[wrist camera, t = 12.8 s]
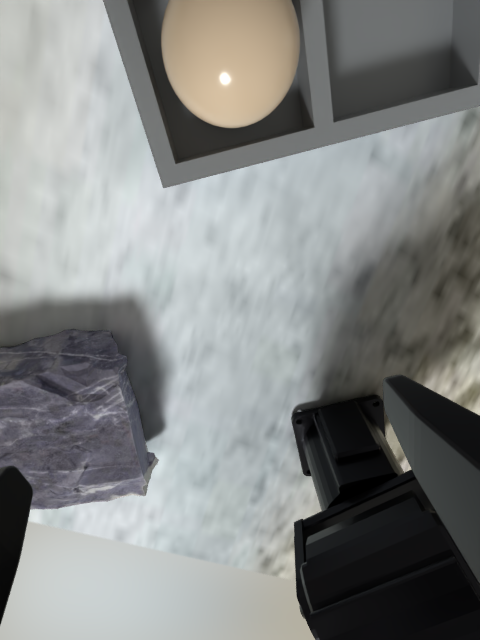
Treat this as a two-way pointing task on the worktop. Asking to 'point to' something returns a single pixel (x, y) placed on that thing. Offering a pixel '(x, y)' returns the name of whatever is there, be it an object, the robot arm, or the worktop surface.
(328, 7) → the carton
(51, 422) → the rock
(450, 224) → the worktop surface
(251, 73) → the seated egg
